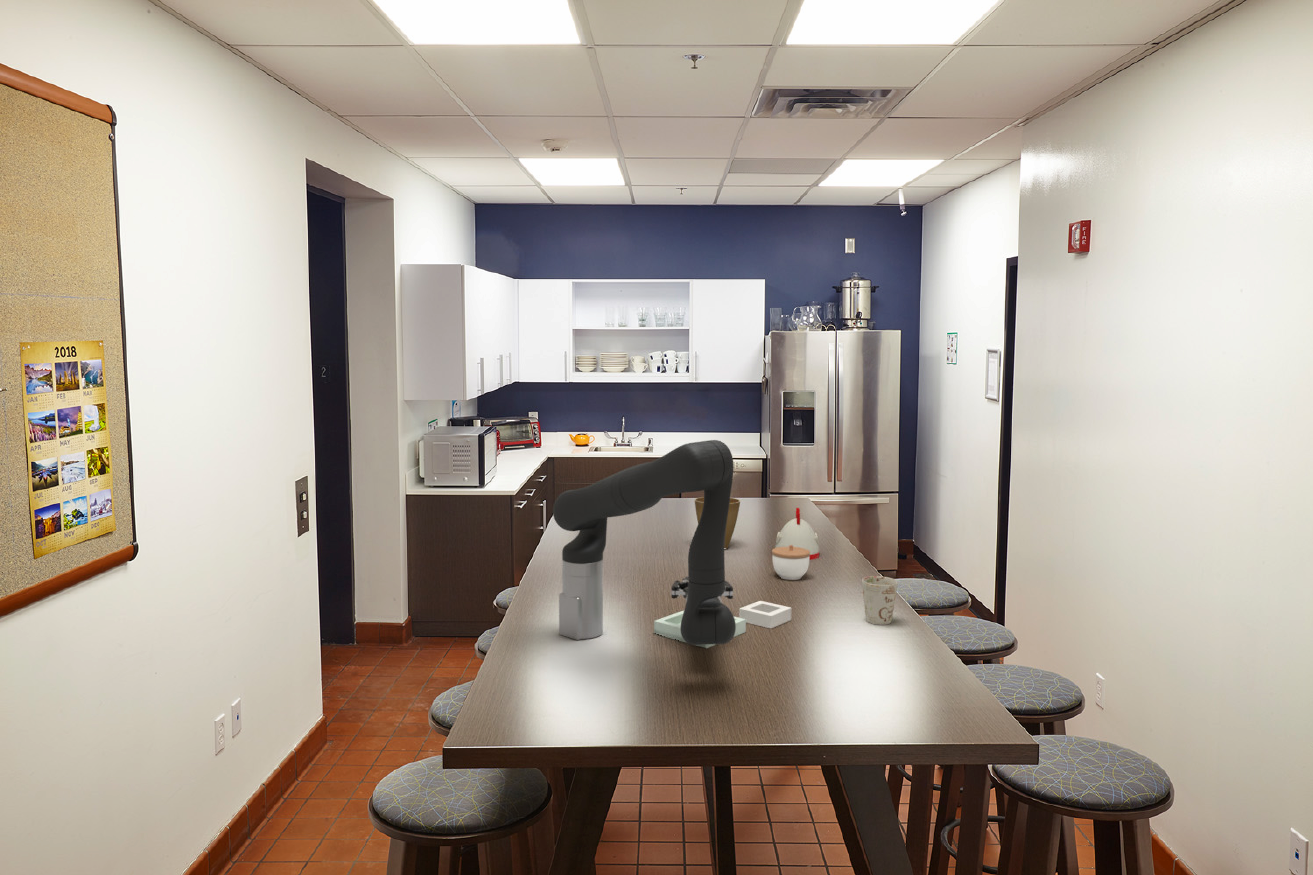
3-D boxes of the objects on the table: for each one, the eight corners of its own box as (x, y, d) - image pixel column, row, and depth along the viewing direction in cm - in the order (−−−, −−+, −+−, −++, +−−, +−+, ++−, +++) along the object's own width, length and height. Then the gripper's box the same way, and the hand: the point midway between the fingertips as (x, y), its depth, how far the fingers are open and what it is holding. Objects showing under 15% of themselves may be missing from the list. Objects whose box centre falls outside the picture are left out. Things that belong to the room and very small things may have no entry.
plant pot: (740, 553, 283) (741, 503, 281) (694, 552, 283) (695, 503, 281) (737, 543, 297) (738, 496, 296) (693, 542, 298) (694, 495, 296)
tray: (706, 648, 193) (706, 634, 192) (654, 633, 202) (654, 620, 202) (745, 631, 204) (745, 619, 204) (694, 618, 214) (694, 606, 213)
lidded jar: (766, 579, 251) (766, 546, 250) (779, 570, 261) (779, 539, 260) (802, 583, 246) (803, 550, 245) (814, 575, 256) (815, 543, 255)
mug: (871, 627, 208) (873, 586, 207) (846, 612, 220) (847, 572, 219) (903, 625, 210) (904, 583, 209) (876, 609, 222) (877, 570, 221)
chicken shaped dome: (817, 551, 287) (818, 505, 286) (820, 561, 273) (822, 513, 272) (774, 549, 288) (775, 504, 287) (775, 559, 275) (776, 512, 273)
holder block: (770, 628, 207) (771, 616, 206) (739, 620, 212) (739, 608, 212) (791, 619, 214) (791, 607, 213) (760, 612, 219) (760, 600, 219)
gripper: (738, 584, 187) (731, 565, 204) (670, 584, 187) (669, 564, 204) (737, 619, 188) (731, 597, 205) (669, 618, 188) (668, 596, 205)
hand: (700, 580), depth 204 cm, fingers open, 5 cm apart
